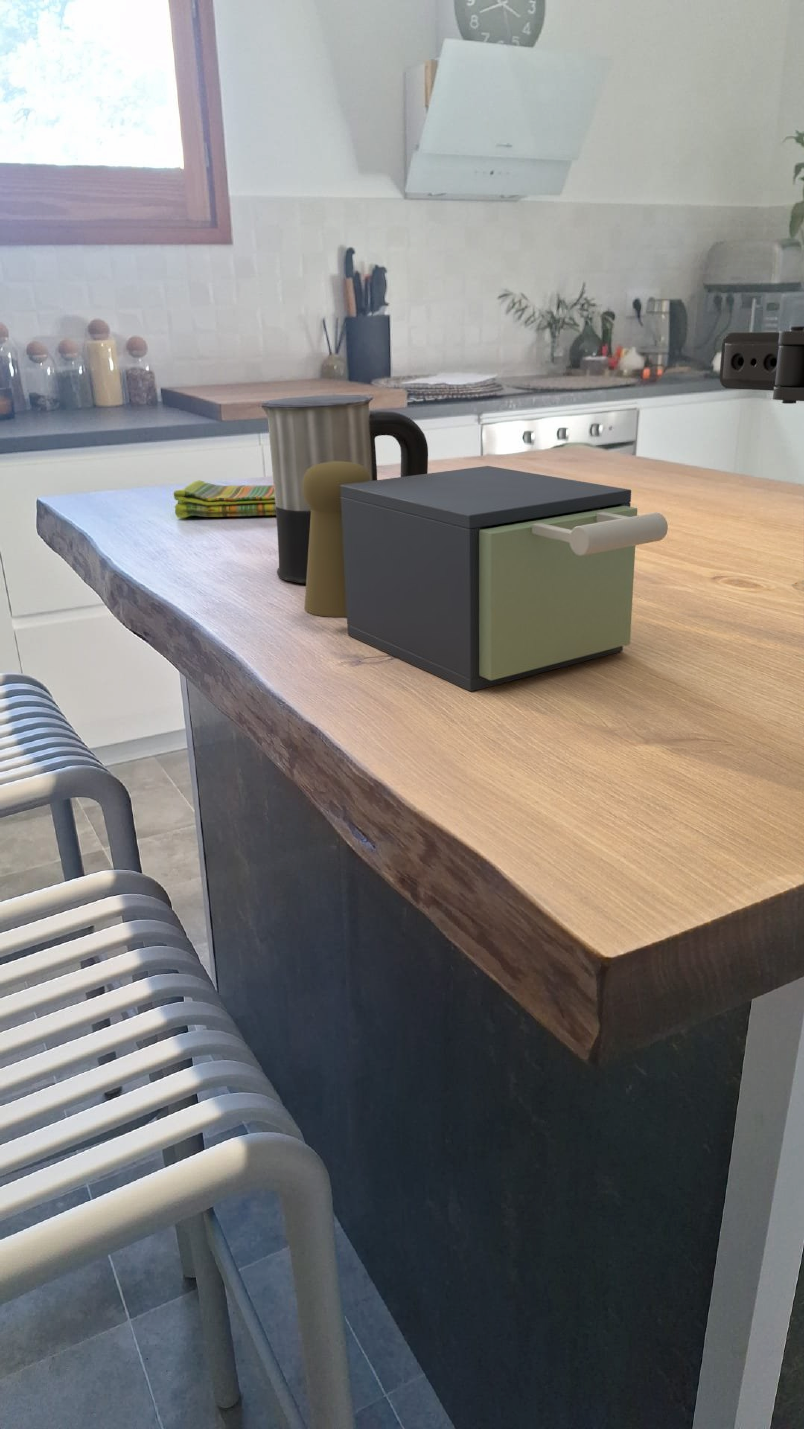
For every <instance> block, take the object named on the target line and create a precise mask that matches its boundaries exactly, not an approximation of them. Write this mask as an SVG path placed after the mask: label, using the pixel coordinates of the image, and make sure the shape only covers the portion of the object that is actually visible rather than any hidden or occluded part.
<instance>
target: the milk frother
mask: <svg viewBox="0 0 804 1429" xmlns="http://www.w3.org/2000/svg"><path fill="white" fill-rule="evenodd" d="M373 399H374V397H373V396H371V395H364V394H363V395H362V394H327V395H326V394H325V395H323V394H322V395H308V396H306V395H305V396H295V397H283V398H277V399H270V400H266V401H264V402H262V403H261V404H260V406H261V409H263V411H264V412H265V415H266V418H267V425H268V438H269V448H270V459H271V471H272V472H271V473H272V482H273V484H272V485H274V495H275V503H276V506H275V507H276V515H275V516H276V517H275V518H276V527H277V528H276V530H277V548H278V549H277V551H278V568H277V569H276V574H277V576H278V577H279V578H280V579H282V580H284V581H289V582H292V583H297V584H305V585H306V579H307V564H308V548H309V533H310V518H311V508H310V507H309V505H308V504H307V503H306V502H305V499H304V496H303V493H302V481H303V477H304V475H305V473H306V471H307V469H309V468H310V467H312V466H314V465H318V464H321V463H326V462H333V461H343V462H351V463H356V464H359V465H361V466H363V467H365V468H366V470H367V472H368V473H369V476H370V479H371V481H375V480H378V466H377V452H376V450H377V449H376V438H377V437H380V436H388V437H392V438H394V439H395V441H396V442H397V444H398V446H399V448H400V477H405V476H413V475H421V474H429V472H428V471H429V470H428V469H429V446H428V441H427V438H426V435H425V432H424V431H423V430H422V429H421V427H420V426H419V425H418V423H416V422H415V421H414V420H413V419H412V418H410V417H409V416H407V415H405V414H403V413H400V412H396V411H391V410H372V411H371V410H370V402H372V401H373Z"/></svg>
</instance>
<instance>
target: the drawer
mask: <svg viewBox="0 0 804 1429" xmlns="http://www.w3.org/2000/svg"><path fill="white" fill-rule="evenodd" d="M480 528H481V530H479V675H480V676H481V677H484V678H486V679H488V680H495V679H499V678H503V677H507V676H510V675H514V674H518V673H522V672H526V671H529V670H533V669H537V668H541V667H545V666H548V665H552V664H556V663H560V662H564V661H567V660H571V659H575V658H579V657H583V656H586V655H590V654H594V653H598V652H602V651H605V650H609V649H613V648H617V647H621V646H623V647H624V646H629V645H630V644H631V633H632V632H631V630H632V614H633V599H634V598H633V595H634V578H635V563H636V562H635V560H636V546H639V545H645V544H649V543H654V542H660V541H662V540H663V539H664V538H665V537H666V536H667V535H668V529H669V528H668V520H667V519H666V517H665V515H663V513H662V514H661V513H660V512H650V513H644V514H640V515H638V508H637V507H634V506H630V507H628V506H619V507H613V508H608V509H602V510H600V508H594V509H588V510H582V511H576V512H570V513H564V514H558V515H552V516H546V517H540V518H534V519H528V520H522V521H516V522H510V523H504V524H498V525H492V526H486V527H480Z"/></svg>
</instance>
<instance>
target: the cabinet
mask: <svg viewBox="0 0 804 1429" xmlns="http://www.w3.org/2000/svg"><path fill="white" fill-rule="evenodd" d="M340 488H341V510H342V530H343V550H344V569H345V589H346V609H347V617H346V624H347V635H348V636H349V637H351V638H354V639H356V640H358V641H360V642H362V643H365V644H367V645H369V646H371V647H373V648H375V649H377V650H380V651H382V652H384V653H386V654H388V655H389V656H392V657H395V658H397V659H399V660H401V661H403V662H405V663H408V664H410V665H412V666H414V667H416V668H419V669H421V670H422V671H425V672H428V673H430V674H432V675H434V676H436V677H438V678H440V679H442V680H444V681H446V682H449V683H450V684H453V685H455V686H457V687H460V688H461V689H464V690H466V691H468V692H474V691H478V690H481V689H485V688H489V687H494V686H497V685H500V684H504V683H508V682H511V681H515V680H519V679H523V678H526V677H531V676H534V675H538V674H542V673H546V672H549V671H553V670H556V669H560V668H564V667H568V666H572V665H576V664H579V663H582V662H583V663H584V662H586V661H591V660H595V659H598V658H601V657H605V656H609V655H613V654H616V653H621V652H623V650H624V646H621V647H617V648H613V649H609V650H605V651H602V652H598V653H594V654H590V655H586V656H583V657H579V658H575V659H571V660H567V661H564V662H560V663H556V664H552V665H548V666H545V667H541V668H537V669H533V670H529V671H526V672H522V673H518V674H514V675H510V676H507V677H503V678H499V679H495V680H488V679H486V678H484V677H481V676H480V675H479V530H481V528H480V527H486V526H492V525H498V524H504V523H510V522H516V521H522V520H528V519H534V518H540V517H546V516H552V515H558V514H564V513H570V512H576V511H582V510H588V509H594V508H600V510H602V509H608V508H613V507H619V506H628V507H631V502H632V490H631V489H628V488H623V487H616V486H610V485H605V484H599V483H592V482H586V481H581V480H576V479H570V478H569V479H568V478H563V477H556V476H551V475H545V474H540V473H533V472H527V471H521V470H517V469H516V470H515V469H510V468H504V467H497V466H491V465H484V466H476V467H475V466H474V467H468V468H460V469H453V470H444V471H437V472H436V471H435V472H430V473H429V472H428V473H427V474H421V475H413V476H405V477H401V476H399V477H398V476H397V477H391V478H390V477H389V478H382V479H377V480H375V481H367V482H359V483H351V484H344V485H341V486H340Z"/></svg>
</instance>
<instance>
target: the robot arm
mask: <svg viewBox="0 0 804 1429" xmlns="http://www.w3.org/2000/svg"><path fill="white" fill-rule="evenodd" d="M720 351H721V353H720V365H719V367H720V368H719V382H720V384H721V386H722V387H723V388H724V389H729V390H731V389H732V390H750V391H751V390H753V391H772V392H773V393H772V400H774V401H775V400H776V401H781V402H782V404H785V405H786V404H787V405H788V404H789V405H790V404H792V405H793V404H797V402H804V325H798V326H797V325H795V326H793V325H791V326H789V330H779V331H738V332H735V331H734V332H730V333H727V334H726V335H725V337H723V340H722V342H721V350H720Z"/></svg>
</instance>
